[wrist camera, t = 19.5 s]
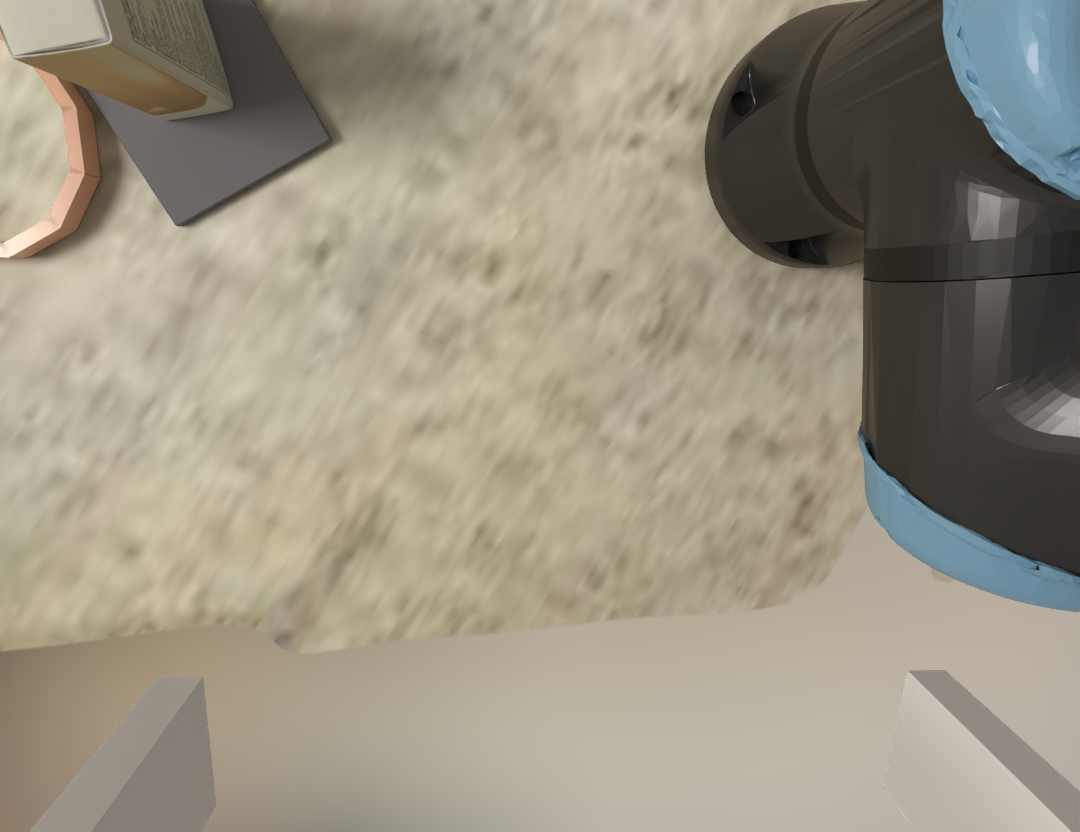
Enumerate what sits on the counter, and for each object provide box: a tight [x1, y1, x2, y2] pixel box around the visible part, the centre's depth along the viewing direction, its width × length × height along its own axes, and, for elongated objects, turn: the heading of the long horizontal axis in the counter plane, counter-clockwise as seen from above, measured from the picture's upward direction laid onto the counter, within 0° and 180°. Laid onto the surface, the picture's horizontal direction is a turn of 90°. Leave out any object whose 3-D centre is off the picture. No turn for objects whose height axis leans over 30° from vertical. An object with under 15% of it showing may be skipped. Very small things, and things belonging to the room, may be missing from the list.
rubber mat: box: [86, 0, 332, 226], centre depth 36 cm, size 11×15×1 cm
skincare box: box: [0, 0, 233, 121], centre depth 29 cm, size 6×4×12 cm
